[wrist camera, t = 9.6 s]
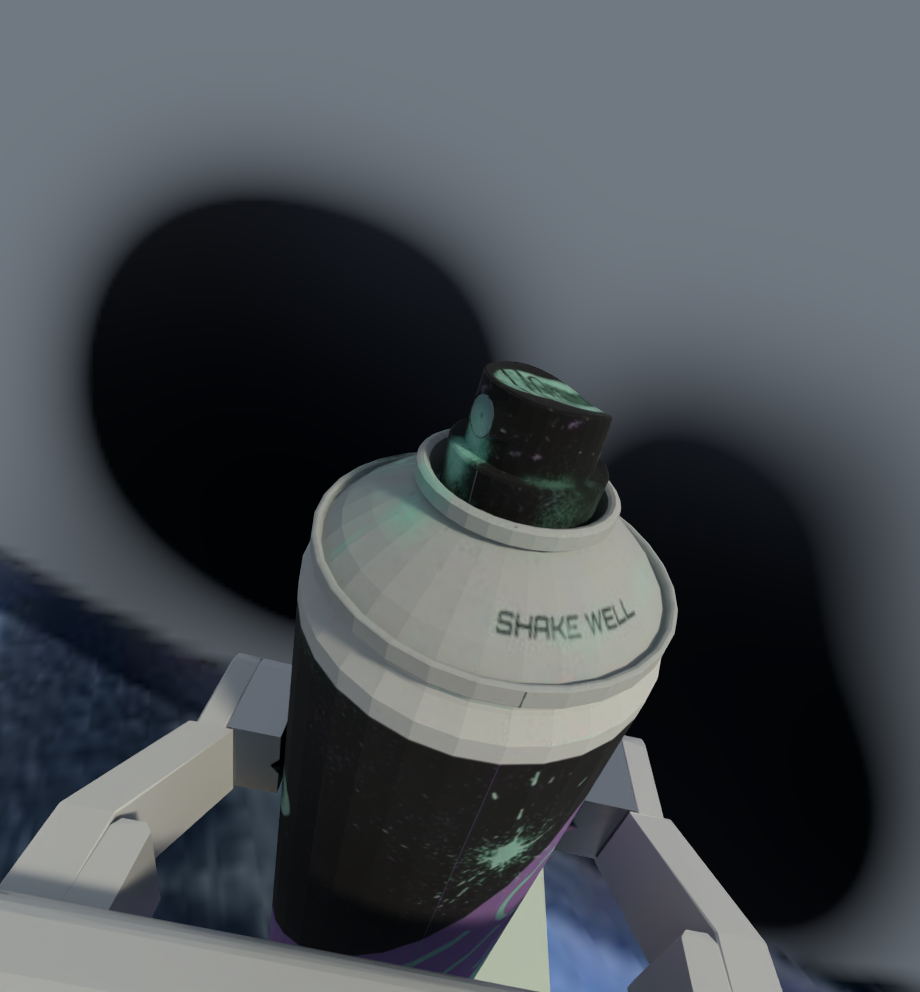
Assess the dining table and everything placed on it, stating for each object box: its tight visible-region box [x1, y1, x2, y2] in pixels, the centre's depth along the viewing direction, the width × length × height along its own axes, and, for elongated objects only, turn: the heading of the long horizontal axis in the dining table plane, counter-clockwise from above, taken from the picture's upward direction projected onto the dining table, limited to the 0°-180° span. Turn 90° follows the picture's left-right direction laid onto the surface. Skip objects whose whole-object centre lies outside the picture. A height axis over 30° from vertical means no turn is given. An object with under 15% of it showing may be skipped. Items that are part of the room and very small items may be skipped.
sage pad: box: [474, 868, 550, 992], centre depth 28 cm, size 10×10×1 cm
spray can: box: [270, 361, 678, 979], centre depth 12 cm, size 6×6×20 cm
